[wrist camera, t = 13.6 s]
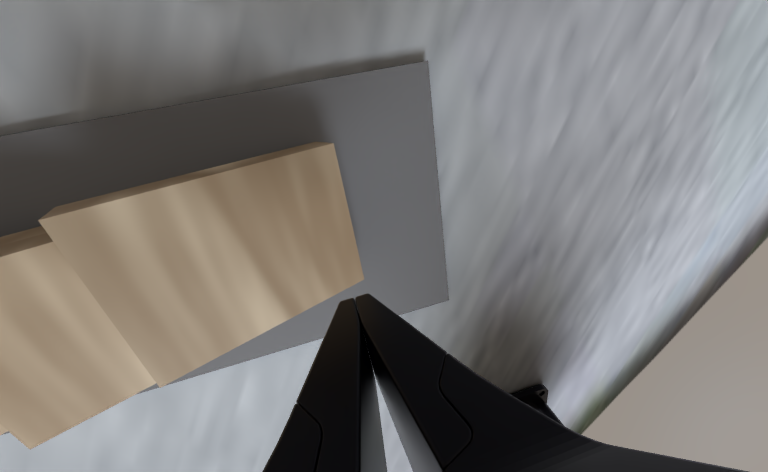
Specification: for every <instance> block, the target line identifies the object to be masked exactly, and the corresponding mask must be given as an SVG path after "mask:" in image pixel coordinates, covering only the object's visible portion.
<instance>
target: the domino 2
mask: <svg viewBox="0 0 768 472" xmlns="http://www.w3.org/2000/svg"><path fill="white" fill-rule="evenodd" d="M38 221H39V222H40V224H41V225H42V227H43V228H44V229H45V231H46V232H47V233H48V235H49V236H50V238H51V239H52V240H53V242H54V243H55V244H56V246H57V247H58V249H59V250H60V251H61V253H62V254H63V255H64V257H65V258H66V260H67V261H68V262H69V264H70V265H71V266H72V268H73V269H74V271H75V272H76V273H77V275H78V276H79V277H80V279H81V280H82V282H83V283H84V284H85V286H86V287H87V288H88V290H89V291H90V293H91V294H92V295H93V297H94V298H95V299H96V301H97V302H98V304H99V305H100V306H101V308H102V309H103V310H104V312H105V313H106V315H107V316H108V317H109V319H110V320H111V321H112V323H113V324H114V326H115V327H116V328H117V330H118V331H119V332H120V334H121V335H122V337H123V338H124V339H125V341H126V342H127V343H128V345H129V346H130V348H131V349H132V350H133V352H134V353H135V354H136V356H137V357H138V359H139V360H140V361H141V363H142V364H143V365H144V367H145V368H146V370H147V371H148V372H149V374H150V375H151V376H152V378H153V379H154V381H155V382H156V383H157V385H158V386H159V387H160V388H161V387H163V386H165V385H166V384H168V383H170V382H172V381H174V380H176V379H178V378H180V377H182V376H183V375H185V374H187V373H189V372H191V371H193V370H195V369H197V368H198V367H200V366H202V365H204V364H206V363H208V362H210V361H212V360H213V359H215V358H217V357H219V356H221V355H223V354H225V353H227V352H229V351H230V350H232V349H234V348H236V347H238V346H240V345H242V344H244V343H245V342H247V341H249V340H251V339H253V338H255V337H257V336H259V335H261V334H262V333H264V332H266V331H268V330H270V329H272V328H274V327H276V326H277V325H279V324H281V323H283V322H285V321H287V320H289V319H291V318H293V317H294V316H296V315H298V314H300V313H302V312H304V311H306V310H308V309H309V308H311V307H313V306H315V305H317V304H319V303H321V302H323V301H325V300H326V299H328V298H330V297H332V296H334V295H336V294H338V293H340V292H341V291H343V290H345V289H347V288H349V287H351V286H353V285H355V284H357V283H358V282H360V281H362V280H364V275H363V271H362V267H361V262H360V258H359V253H358V249H357V244H356V240H355V236H354V231H353V227H352V222H351V218H350V213H349V209H348V205H347V200H346V196H345V191H344V187H343V183H342V178H341V174H340V169H339V165H338V160H337V156H336V152H335V147H334V143H326V142H312V143H308V144H304V145H300V146H296V147H292V148H288V149H284V150H280V151H276V152H272V153H268V154H264V155H260V156H256V157H252V158H248V159H244V160H240V161H236V162H232V163H228V164H224V165H220V166H216V167H212V168H208V169H204V170H200V171H196V172H192V173H188V174H184V175H180V176H176V177H172V178H168V179H164V180H160V181H156V182H152V183H148V184H144V185H140V186H137V187H133V188H129V189H125V190H121V191H117V192H113V193H109V194H105V195H101V196H97V197H93V198H89V199H85V200H81V201H77V202H73V203H69V204H65V205H61V206H57V207H55V208H53V209H52V210H51V211H49V212H48V213H47V214H46V215H44V216H43V217H42V218H40V219H39V220H38Z"/></svg>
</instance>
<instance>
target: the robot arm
mask: <svg viewBox="0 0 768 472" xmlns="http://www.w3.org/2000/svg"><path fill="white" fill-rule="evenodd" d="M356 305H357V306H356ZM357 309H358V310H357ZM363 332H364V333H363ZM368 351H369V352H368ZM369 355H370V356H369ZM370 359H371V360H370ZM372 366H373V367H372ZM373 370H374V372H373ZM374 373H375V376H374ZM375 377H376V379H377V382H378V385H379V387H380V390H381V392H382V395H383V397H384V400H385V402H386V405H387V407H388V410H389V412H390V415H391V417H392V420H393V422H394V425H395V427H396V430H397V432H398V435H399V437H400V440H401V442H402V445H403V447H404V450H405V452H406V455H407V457H408V460H409V462H410V465H411V467H412V470H413V472H748V471H743V470H738V469H732V468H727V467H722V466H717V465H712V464H706V463H701V462H696V461H691V460H686V459H680V458H675V457H670V456H665V455H660V454H654V453H649V452H644V451H639V450H634V449H628V448H623V447H618V446H613V445H609V444H604V443H602V442H598V441H595V440H593V439H590V438H587V437H585V436H583V435H581V434H578V433H576V432H574V431H572V430H570V429H568V428H566V427H565V426H564V425H563V424H562V423H561V421H560V420H559V419H558V418H557V416H556V415H555V414H554V413H553V412H552V410H551V409H550V408H549V407H548V405H547V397H548V390H547V388H546V387H545V386H544V385H543V384H540V385H537V386H534V387H532V388H529V389H526V390H523V391H520V392H518V393H515V394H512V395H510V394H509V393H507V392H505V391H503V390H502V389H500V388H498V387H497V386H495V385H494V384H492V383H490V382H489V381H487V380H486V379H484V378H482V377H481V376H479V375H478V374H476V373H475V372H473V371H472V370H471V369H469V368H468V367H466V366H465V365H464V364H462V363H461V362H459V361H458V360H457V359H455V358H454V357H453V356H452V355H450V354H447V352H446V351H445V350H443V349H442V348H441V347H439V346H438V345H437V344H435V343H434V342H433V341H431V340H430V339H429V338H428V337H426V336H425V335H424V334H422V333H421V332H420V331H418V330H417V329H416V328H414V327H413V326H412V325H410V324H409V323H408V322H406V321H405V320H404V319H402V318H401V317H400V316H398V315H397V314H396V313H394V312H393V311H392V310H390V309H389V308H388V307H386V306H385V305H384V304H382V303H381V302H380V301H378V300H377V299H376V298H375V297H373V296H372V295H371V294H369V293H367V294H363V295H360V296H357V297H356V298H355V299H354V298H349V299H346V300H343V301H340V302H339V304H338V307H337V309H336V311H335V313H334V316H333V318H332V320H331V323H330V325H329V327H328V330H327V332H326V334H325V337H324V339H323V341H322V344H321V346H320V348H319V350H318V353H317V355H316V357H315V360H314V362H313V364H312V367H311V369H310V371H309V374H308V376H307V378H306V380H305V383H304V385H303V387H302V390H301V392H300V394H299V397H298V399H297V401H296V402H297V404H295V405H294V408H293V410H292V412H291V415H290V417H289V419H288V422H287V424H286V426H285V428H284V430H283V432H282V434H281V437H280V439H279V441H278V443H277V445H276V447H275V449H274V451H273V453H272V455H271V456H270V458H269V460H268V462H267V464H266V466H265V468H264V470H263V472H387V466H386V459H385V451H384V443H383V436H382V428H381V420H380V412H379V405H378V397H377V389H376V382H375Z"/></svg>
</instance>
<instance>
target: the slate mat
mask: <svg viewBox="0 0 768 472" xmlns="http://www.w3.org/2000/svg"><path fill="white" fill-rule="evenodd" d="M312 142H326V143H334V147H335V152H336V156H337V160H338V165H339V169H340V174H341V178H342V183H343V187H344V191H345V196H346V200H347V205H348V209H349V213H350V218H351V222H352V227H353V231H354V236H355V240H356V244H357V249H358V253H359V258H360V262H361V267H362V271H363V275H364V280H362V281H360V282H358V283H357V284H355V285H353V286H351V287H349V288H347V289H345V290H343V291H341V292H340V293H338V294H336V295H334V296H332V297H330V298H328V299H326V300H325V301H323V302H321V303H319V304H317V305H315V306H313V307H311V308H309V309H308V310H306V311H304V312H302V313H300V314H298V315H296V316H294V317H293V318H291V319H289V320H287V321H285V322H283V323H281V324H279V325H277V326H276V327H274V328H272V329H270V330H268V331H266V332H264V333H262V334H261V335H259V336H257V337H255V338H253V339H251V340H249V341H247V342H245V343H244V344H242V345H240V346H238V347H236V348H234V349H232V350H230V351H229V352H227V353H225V354H223V355H221V356H219V357H217V358H215V359H213V360H212V361H210V362H208V363H206V364H204V365H202V366H200V367H198V368H197V369H195V370H193V371H191V372H189V373H187V374H185V375H183V376H182V377H180V378H178V379H176V380H174V381H172V382H170V383H168V384H166V385H169V384H172V383H175V382H179V381H182V380H185V379H188V378H192V377H195V376H198V375H202V374H205V373H208V372H212V371H215V370H218V369H222V368H225V367H228V366H232V365H235V364H238V363H242V362H245V361H248V360H251V359H255V358H258V357H261V356H265V355H268V354H271V353H275V352H278V351H281V350H285V349H288V348H291V347H295V346H298V345H301V344H305V343H308V342H311V341H315V340H318V339H321V338H324V337H325V334H326V332H327V330H328V327H329V325H330V323H331V320H332V318H333V316H334V313H335V311H336V309H337V307H338V304H339V302H340V301H343V300H346V299H349V298H354V299H355V298H356V297H357V296H360V295H363V294H367V293H369V294H371V295H372V296H373V297H375V298H376V299H377V300H378V301H380V302H381V303H382V304H384V305H385V306H386V307H388V308H389V309H390V310H392V311H393V312H394V313H396V314H397V315H401V314H404V313H407V312H411V311H414V310H417V309H421V308H424V307H427V306H431V305H434V304H437V303H441V302H444V301H447V300H449V296H448V285H447V273H446V262H445V250H444V239H443V227H442V216H441V205H440V193H439V182H438V170H437V159H436V147H435V136H434V125H433V113H432V102H431V90H430V79H429V67H428V61H423V62H418V63H412V64H406V65H401V66H395V67H389V68H384V69H378V70H372V71H367V72H361V73H355V74H350V75H344V76H338V77H333V78H327V79H321V80H315V81H310V82H304V83H298V84H293V85H287V86H281V87H276V88H270V89H264V90H259V91H253V92H247V93H242V94H236V95H230V96H225V97H219V98H213V99H208V100H202V101H196V102H191V103H185V104H179V105H174V106H168V107H162V108H157V109H151V110H145V111H139V112H134V113H128V114H122V115H117V116H111V117H105V118H100V119H94V120H88V121H83V122H77V123H71V124H66V125H60V126H54V127H49V128H43V129H37V130H32V131H26V132H20V133H15V134H9V135H3V136H0V237H3V236H6V235H10V234H14V233H17V232H21V231H25V230H28V229H32V228H36V227H39V226H42V225H41V224H40V222H39V221H38V220H39V219H40V218H42V217H43V216H44V215H46V214H47V213H48V212H49V211H51V210H52V209H53V208H55V207H57V206H61V205H65V204H69V203H73V202H77V201H81V200H85V199H89V198H93V197H97V196H101V195H105V194H109V193H113V192H117V191H121V190H125V189H129V188H133V187H137V186H140V185H144V184H148V183H152V182H156V181H160V180H164V179H168V178H172V177H176V176H180V175H184V174H188V173H192V172H196V171H200V170H204V169H208V168H212V167H216V166H220V165H224V164H228V163H232V162H236V161H240V160H244V159H248V158H252V157H256V156H260V155H264V154H268V153H272V152H276V151H280V150H284V149H288V148H292V147H296V146H300V145H304V144H308V143H312ZM356 306H357V305H356ZM357 310H358V309H357ZM155 388H159V386H158V385H157V383H156V384H154V385H152V386H150V387H148V388H147V389H145V390H143V391H141V392H139V393H142V392H145V391H149V390H152V389H155ZM139 393H137V394H139ZM6 433H9V431H7V432H5V433H3V434H6ZM3 434H1V435H3Z"/></svg>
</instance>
